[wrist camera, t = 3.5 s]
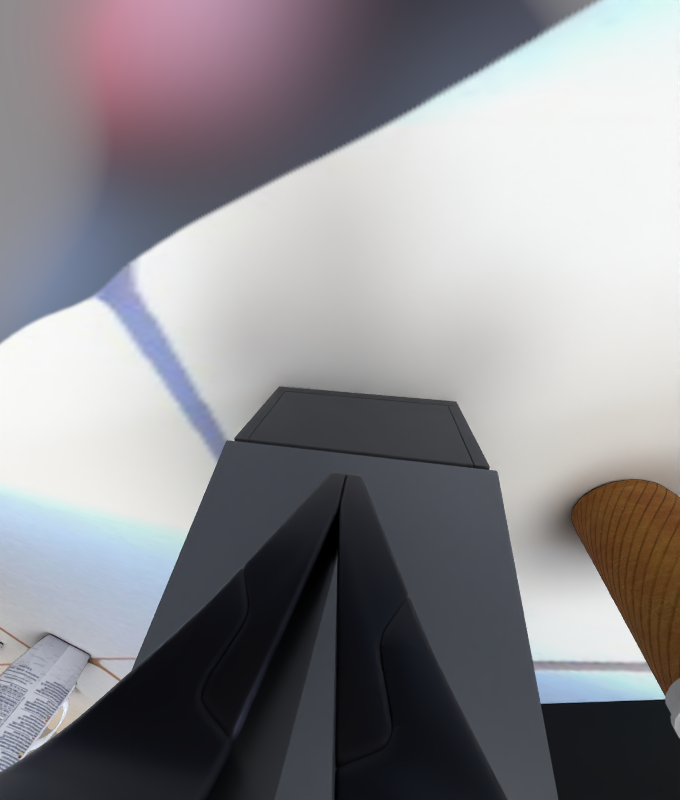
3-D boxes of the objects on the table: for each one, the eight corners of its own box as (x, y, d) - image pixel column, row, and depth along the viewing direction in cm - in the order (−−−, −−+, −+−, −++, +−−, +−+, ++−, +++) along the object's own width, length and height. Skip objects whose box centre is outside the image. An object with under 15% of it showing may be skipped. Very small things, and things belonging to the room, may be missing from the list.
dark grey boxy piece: (424, 531, 24) (437, 618, 18) (289, 512, 26) (260, 586, 20) (456, 401, 18) (490, 467, 12) (279, 386, 20) (233, 438, 14)
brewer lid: (620, 1245, 5) (661, 1349, 4) (16, 995, 6) (-24, 1043, 6) (490, 476, 12) (497, 470, 12) (232, 446, 14) (226, 439, 13)
